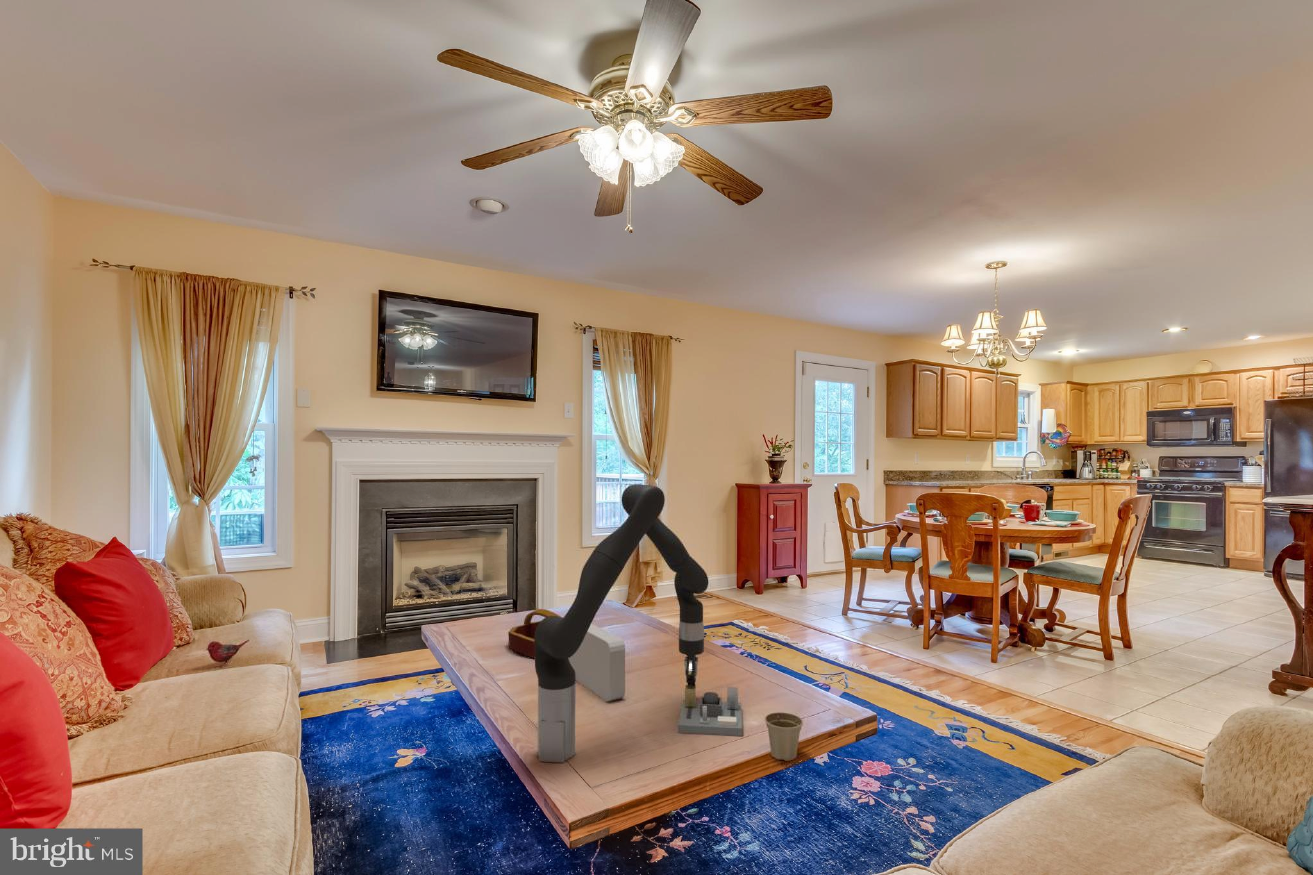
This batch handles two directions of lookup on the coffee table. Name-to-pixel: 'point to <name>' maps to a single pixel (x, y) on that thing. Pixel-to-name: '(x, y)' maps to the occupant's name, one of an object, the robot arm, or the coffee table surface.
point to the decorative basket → (527, 633)
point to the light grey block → (732, 697)
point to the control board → (710, 719)
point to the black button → (711, 698)
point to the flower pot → (783, 734)
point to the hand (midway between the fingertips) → (691, 694)
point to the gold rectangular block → (690, 696)
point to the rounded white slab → (601, 664)
